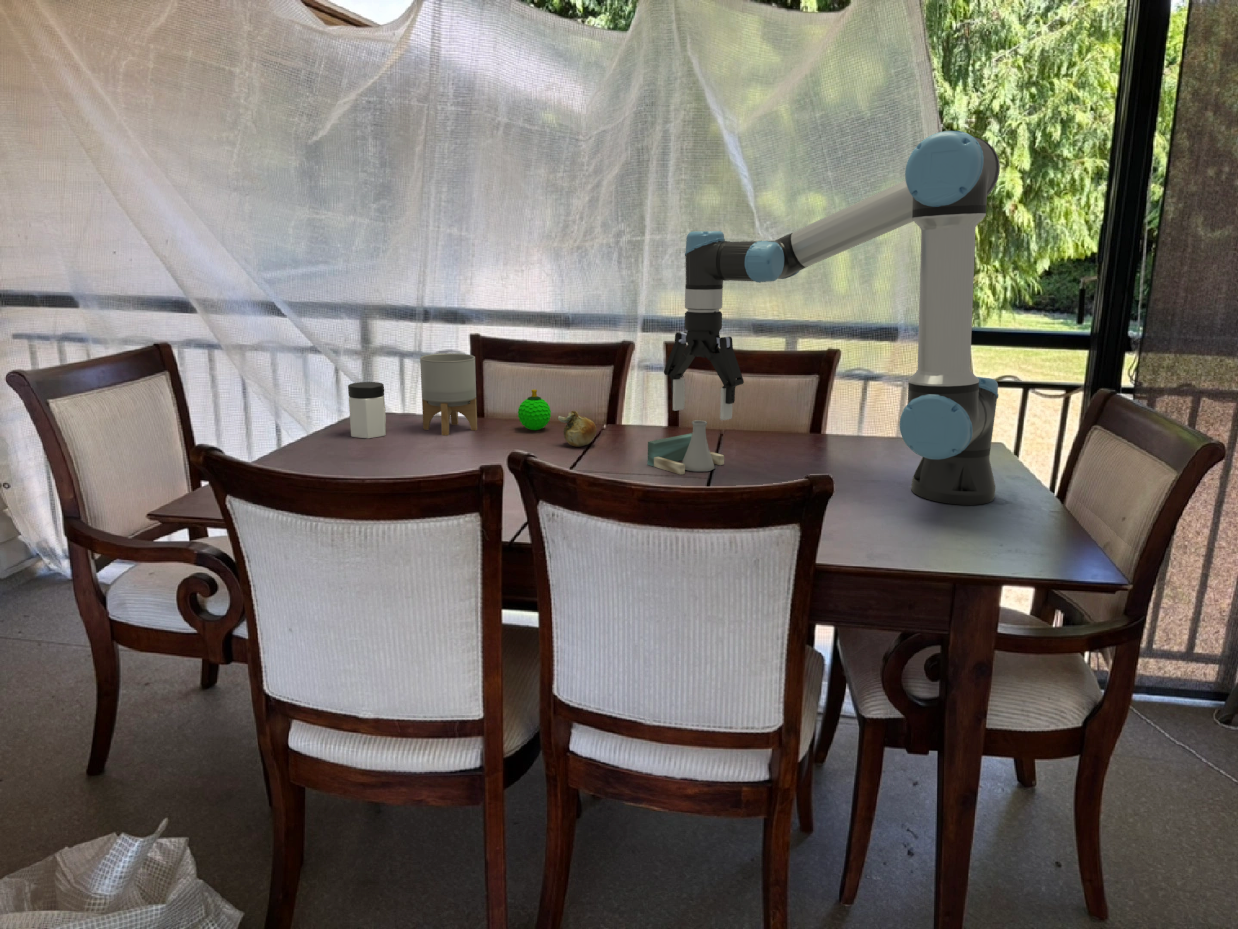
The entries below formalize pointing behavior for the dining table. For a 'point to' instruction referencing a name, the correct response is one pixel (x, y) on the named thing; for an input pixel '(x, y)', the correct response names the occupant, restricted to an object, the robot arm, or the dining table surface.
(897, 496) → the dining table surface
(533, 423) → the ornament
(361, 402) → the jar
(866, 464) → the dining table surface
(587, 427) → the onion
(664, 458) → the pocket
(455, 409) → the planter
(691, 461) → the flask
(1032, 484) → the dining table surface
